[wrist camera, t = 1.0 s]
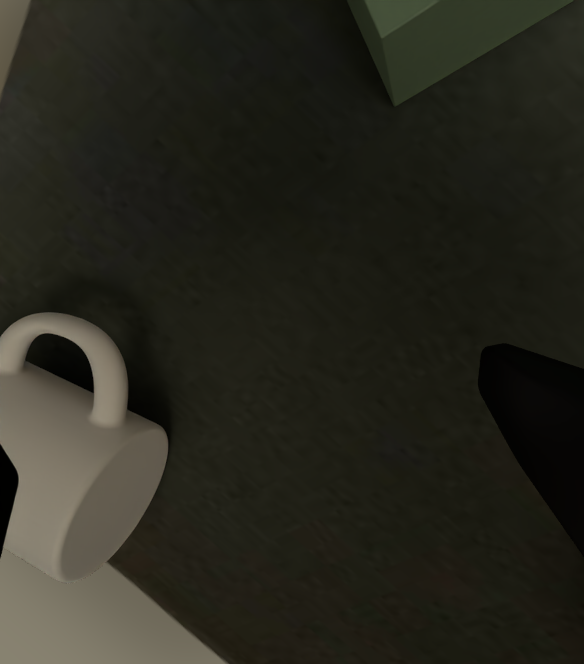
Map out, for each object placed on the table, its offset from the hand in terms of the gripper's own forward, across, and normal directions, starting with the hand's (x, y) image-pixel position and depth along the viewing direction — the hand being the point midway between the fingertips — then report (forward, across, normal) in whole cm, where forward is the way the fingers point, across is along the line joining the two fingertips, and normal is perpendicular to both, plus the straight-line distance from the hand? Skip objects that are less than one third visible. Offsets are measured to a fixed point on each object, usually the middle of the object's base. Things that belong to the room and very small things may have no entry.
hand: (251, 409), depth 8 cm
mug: (+16, +10, +10) cm, 21 cm away
